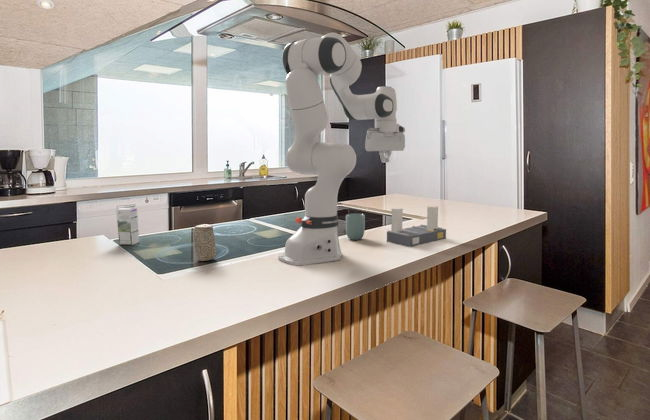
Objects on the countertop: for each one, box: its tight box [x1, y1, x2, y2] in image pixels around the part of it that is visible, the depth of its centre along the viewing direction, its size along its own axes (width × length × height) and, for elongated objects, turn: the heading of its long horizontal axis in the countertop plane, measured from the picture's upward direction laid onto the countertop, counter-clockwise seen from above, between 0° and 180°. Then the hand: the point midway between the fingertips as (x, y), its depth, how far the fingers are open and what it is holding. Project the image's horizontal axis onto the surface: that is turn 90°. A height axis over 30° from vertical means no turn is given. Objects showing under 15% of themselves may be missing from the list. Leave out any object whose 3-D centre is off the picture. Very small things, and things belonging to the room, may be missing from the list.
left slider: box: [390, 207, 403, 232], centre depth 169 cm, size 3×3×9 cm
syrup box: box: [115, 206, 140, 246], centre depth 170 cm, size 6×6×14 cm
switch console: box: [386, 224, 447, 248], centre depth 172 cm, size 22×12×4 cm, turn 128°
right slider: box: [426, 205, 439, 229], centre depth 174 cm, size 3×3×9 cm
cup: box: [345, 213, 366, 241], centre depth 175 cm, size 8×8×10 cm
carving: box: [193, 223, 217, 262], centre depth 144 cm, size 6×8×12 cm
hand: (385, 162), depth 176 cm, fingers closed
